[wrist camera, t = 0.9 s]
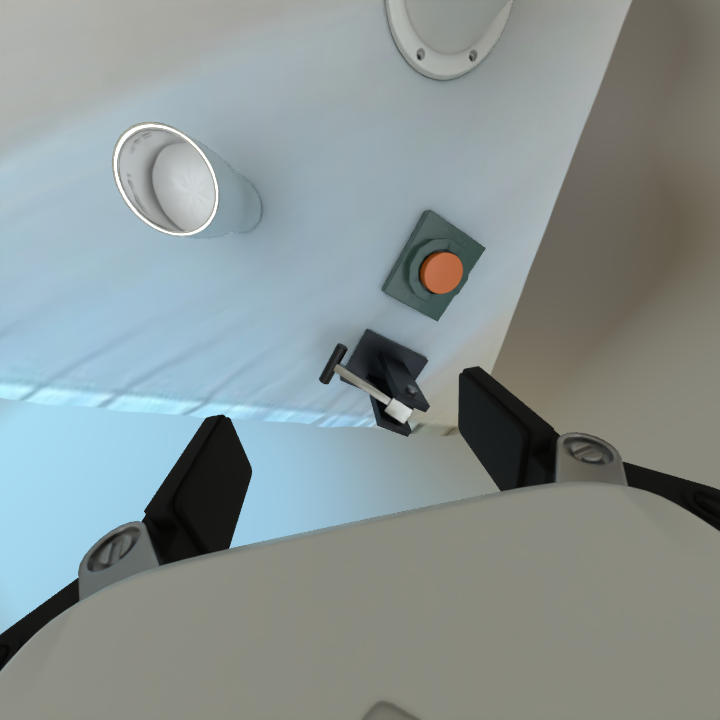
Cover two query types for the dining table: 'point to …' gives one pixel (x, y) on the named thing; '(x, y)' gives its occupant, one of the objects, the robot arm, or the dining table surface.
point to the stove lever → (364, 385)
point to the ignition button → (441, 272)
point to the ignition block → (422, 243)
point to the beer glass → (181, 184)
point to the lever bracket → (389, 376)
